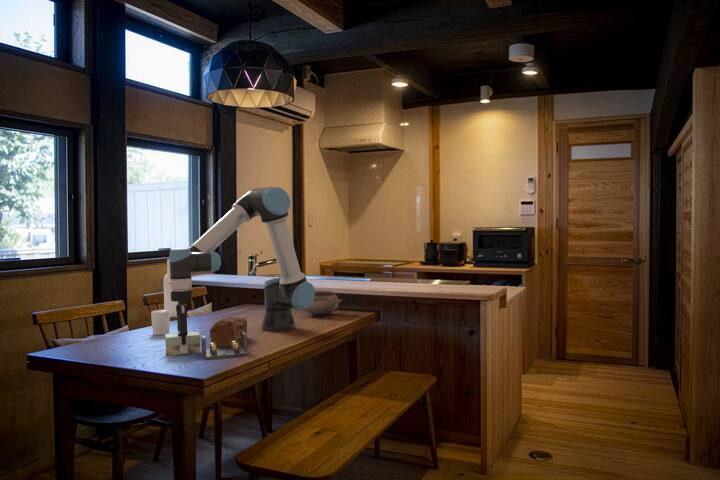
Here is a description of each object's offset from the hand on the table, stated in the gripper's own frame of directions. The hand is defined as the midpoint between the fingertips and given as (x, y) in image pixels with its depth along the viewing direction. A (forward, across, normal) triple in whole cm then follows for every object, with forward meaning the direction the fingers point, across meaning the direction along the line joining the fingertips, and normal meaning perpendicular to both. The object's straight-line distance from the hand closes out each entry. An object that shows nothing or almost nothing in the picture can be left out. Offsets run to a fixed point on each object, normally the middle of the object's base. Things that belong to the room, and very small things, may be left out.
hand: (182, 350), depth 216 cm
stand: (+1, 0, 0) cm, 1 cm away
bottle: (+1, -96, +2) cm, 96 cm away
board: (-3, 0, 0) cm, 3 cm away
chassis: (+1, +8, +14) cm, 16 cm away
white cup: (+1, -46, -6) cm, 46 cm away
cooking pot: (+1, -60, +72) cm, 94 cm away
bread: (+1, -13, +19) cm, 23 cm away
